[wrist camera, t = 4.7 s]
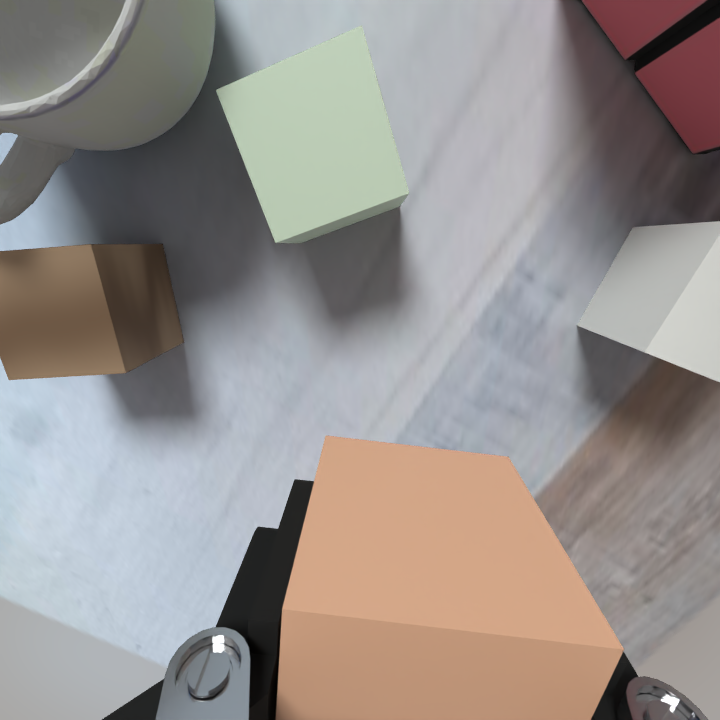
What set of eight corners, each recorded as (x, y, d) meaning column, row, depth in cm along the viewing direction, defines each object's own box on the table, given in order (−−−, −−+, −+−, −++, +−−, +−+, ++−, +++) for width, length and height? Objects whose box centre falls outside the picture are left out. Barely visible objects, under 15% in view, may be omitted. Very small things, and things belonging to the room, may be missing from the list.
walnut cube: (66, 251, 19) (-38, 254, 14) (163, 244, 18) (90, 244, 14) (94, 347, 20) (8, 380, 15) (184, 341, 20) (125, 373, 15)
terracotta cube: (325, 435, 10) (282, 609, 5) (508, 456, 10) (624, 650, 5) (313, 575, 12) (270, 804, 7) (471, 594, 12) (535, 835, 7)
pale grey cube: (631, 227, 18) (728, 220, 13) (723, 266, 18) (851, 274, 13) (576, 325, 19) (644, 352, 14) (662, 359, 19) (757, 397, 15)
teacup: (45, -217, 14) (-371, -799, 6) (297, -14, 15) (220, -274, 8) (-57, 141, 17) (-394, 61, 10) (154, 275, 19) (6, 298, 11)
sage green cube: (260, 133, 17) (215, 90, 12) (365, 89, 16) (361, 25, 11) (301, 243, 18) (275, 243, 13) (399, 206, 18) (409, 193, 13)
